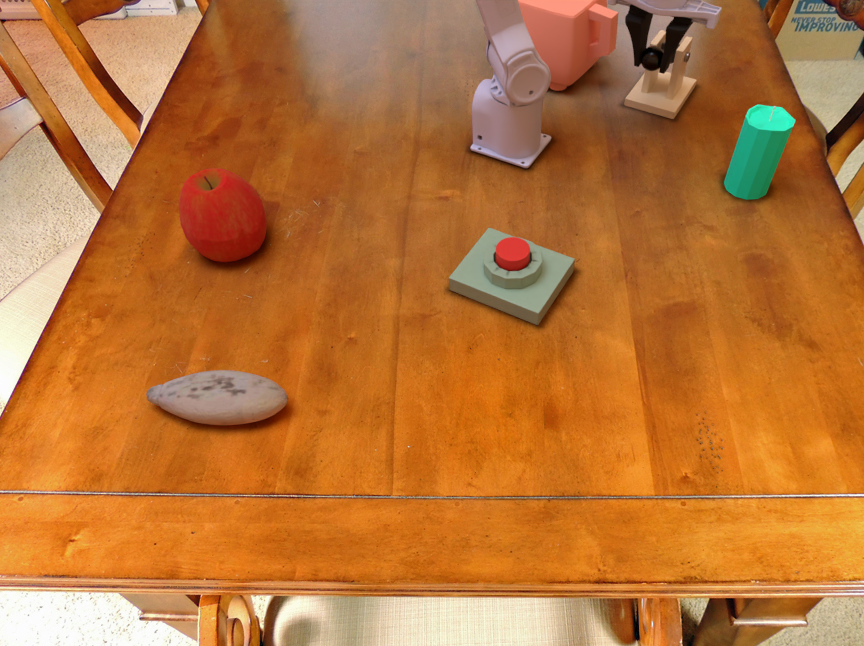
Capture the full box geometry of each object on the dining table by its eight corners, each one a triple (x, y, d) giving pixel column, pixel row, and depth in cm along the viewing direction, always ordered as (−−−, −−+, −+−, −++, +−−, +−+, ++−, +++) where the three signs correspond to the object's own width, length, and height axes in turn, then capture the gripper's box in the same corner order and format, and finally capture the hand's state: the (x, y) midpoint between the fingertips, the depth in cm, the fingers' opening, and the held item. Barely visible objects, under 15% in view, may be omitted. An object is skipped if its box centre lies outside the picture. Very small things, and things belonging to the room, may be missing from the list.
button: (489, 264, 80) (489, 253, 79) (505, 243, 82) (505, 232, 81) (519, 276, 79) (520, 265, 78) (535, 254, 81) (535, 243, 80)
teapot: (470, 66, 112) (467, -25, 101) (511, 33, 118) (513, -57, 107) (587, 108, 105) (598, 14, 93) (625, 70, 111) (640, -23, 99)
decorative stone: (161, 380, 76) (148, 362, 73) (299, 383, 75) (291, 365, 72) (143, 427, 72) (129, 410, 69) (287, 431, 72) (279, 413, 69)
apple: (256, 206, 93) (231, 139, 84) (286, 249, 88) (264, 183, 79) (182, 235, 89) (149, 169, 81) (210, 282, 84) (178, 217, 76)
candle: (769, 202, 91) (801, 123, 82) (723, 197, 92) (750, 117, 82) (767, 174, 95) (798, 95, 85) (723, 169, 96) (749, 90, 86)
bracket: (673, 119, 103) (686, 63, 96) (623, 105, 105) (632, 50, 98) (695, 86, 108) (709, 31, 101) (647, 73, 110) (657, 18, 103)
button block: (449, 290, 83) (447, 266, 80) (488, 239, 88) (488, 215, 85) (537, 325, 79) (539, 302, 76) (573, 271, 84) (576, 247, 81)
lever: (657, 75, 93) (664, 49, 91) (635, 69, 94) (641, 44, 92) (678, 65, 102) (685, 42, 100) (657, 60, 103) (664, 37, 101)
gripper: (739, -40, 84) (711, 65, 95) (628, -63, 88) (614, 40, 99) (721, -16, 80) (694, 90, 91) (607, -41, 84) (594, 63, 95)
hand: (651, 66), depth 95 cm, fingers closed on lever, 3 cm apart
